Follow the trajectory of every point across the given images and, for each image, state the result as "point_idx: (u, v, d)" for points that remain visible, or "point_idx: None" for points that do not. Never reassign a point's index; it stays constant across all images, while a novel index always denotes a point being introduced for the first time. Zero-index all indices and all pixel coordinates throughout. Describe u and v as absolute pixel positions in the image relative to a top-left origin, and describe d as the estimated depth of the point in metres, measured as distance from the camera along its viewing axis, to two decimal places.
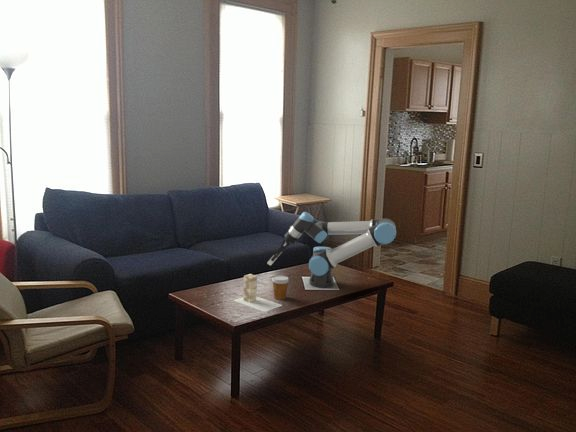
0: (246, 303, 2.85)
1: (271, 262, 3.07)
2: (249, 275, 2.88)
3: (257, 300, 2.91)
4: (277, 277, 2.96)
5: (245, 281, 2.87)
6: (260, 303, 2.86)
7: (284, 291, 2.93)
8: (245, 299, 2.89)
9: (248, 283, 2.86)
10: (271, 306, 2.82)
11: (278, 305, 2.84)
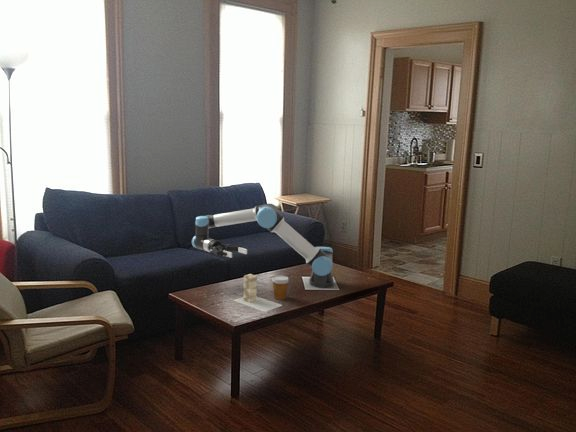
0: (246, 303, 2.85)
1: (228, 253, 2.88)
2: (249, 275, 2.88)
3: (257, 300, 2.91)
4: (277, 277, 2.96)
5: (245, 281, 2.87)
6: (260, 303, 2.86)
7: (284, 291, 2.93)
8: (245, 299, 2.89)
9: (248, 283, 2.86)
10: (271, 306, 2.82)
11: (278, 305, 2.84)
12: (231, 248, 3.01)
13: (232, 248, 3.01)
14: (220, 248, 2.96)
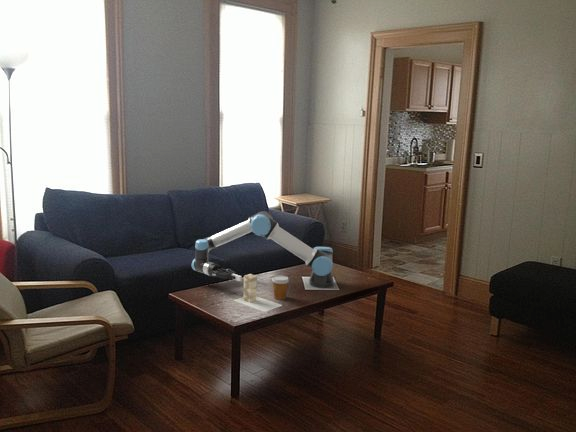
0: (246, 303, 2.85)
1: (237, 277, 2.94)
2: (249, 275, 2.88)
3: (257, 300, 2.91)
4: (277, 277, 2.96)
5: (245, 281, 2.87)
6: (260, 303, 2.86)
7: (284, 291, 2.93)
8: (245, 299, 2.89)
9: (248, 283, 2.86)
10: (271, 306, 2.82)
11: (278, 305, 2.84)
12: None
13: None
14: (224, 272, 3.00)
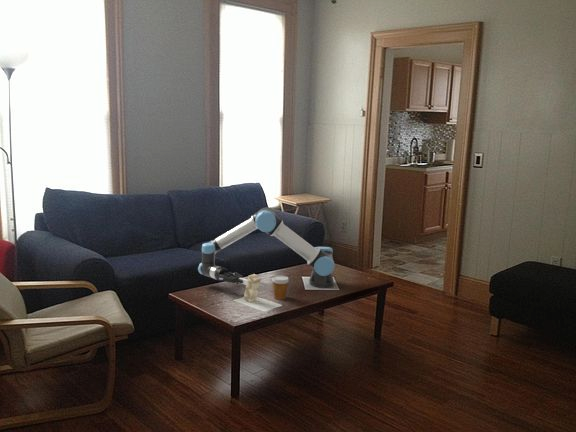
0: (246, 303, 2.85)
1: (244, 281, 2.89)
2: (253, 276, 2.86)
3: (257, 300, 2.91)
4: (277, 277, 2.96)
5: (248, 281, 2.85)
6: (260, 303, 2.86)
7: (284, 291, 2.93)
8: (245, 298, 2.89)
9: (251, 284, 2.84)
10: (271, 306, 2.82)
11: (278, 305, 2.84)
12: None
13: None
14: (231, 276, 2.96)
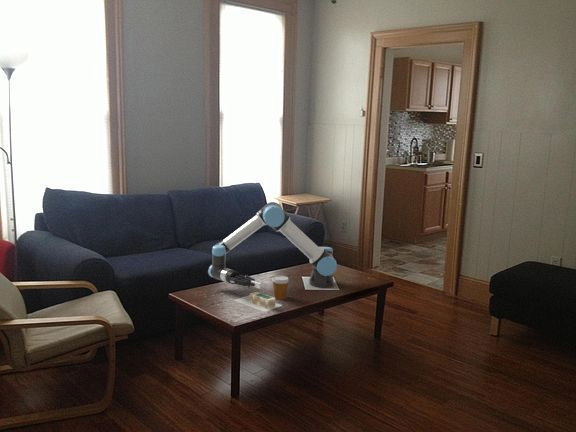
0: (246, 303, 2.85)
1: (256, 284, 2.84)
2: (272, 302, 2.79)
3: None
4: (277, 277, 2.96)
5: (264, 301, 2.79)
6: None
7: (284, 291, 2.93)
8: (251, 297, 2.86)
9: (264, 305, 2.80)
10: None
11: (278, 305, 2.84)
12: None
13: None
14: (242, 278, 2.91)
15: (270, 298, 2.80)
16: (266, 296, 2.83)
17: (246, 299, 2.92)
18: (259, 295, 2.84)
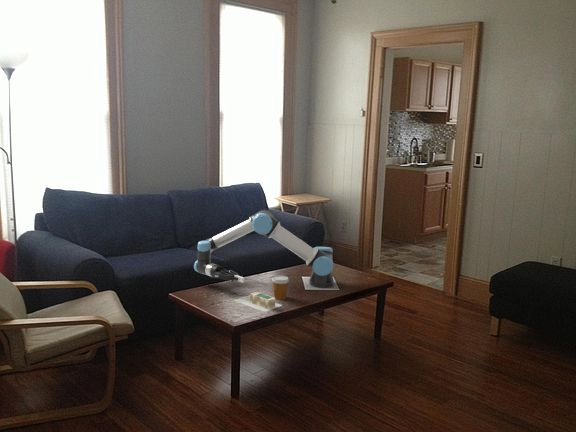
0: (246, 303, 2.85)
1: (239, 278, 2.92)
2: (272, 302, 2.79)
3: None
4: (277, 277, 2.96)
5: (264, 301, 2.79)
6: None
7: (284, 291, 2.93)
8: (251, 297, 2.86)
9: (264, 305, 2.80)
10: None
11: (278, 305, 2.84)
12: None
13: (230, 275, 2.99)
14: (226, 273, 2.99)
15: (270, 298, 2.80)
16: (266, 296, 2.83)
17: (246, 299, 2.92)
18: (259, 295, 2.84)
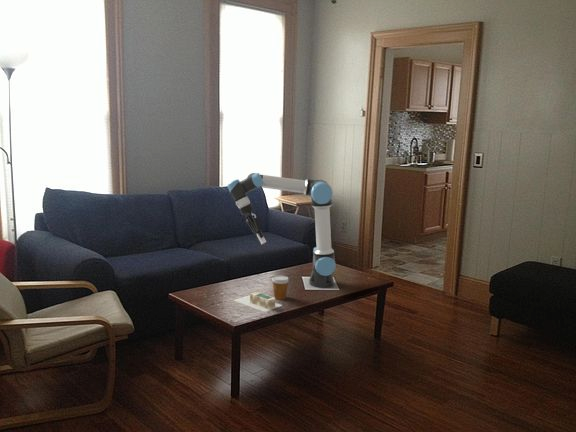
0: (246, 303, 2.85)
1: (263, 239, 2.98)
2: (272, 302, 2.79)
3: None
4: (277, 277, 2.96)
5: (264, 301, 2.79)
6: None
7: (284, 291, 2.93)
8: (251, 297, 2.86)
9: (264, 305, 2.80)
10: None
11: (278, 305, 2.84)
12: None
13: None
14: None
15: (270, 298, 2.80)
16: (266, 296, 2.83)
17: (246, 299, 2.92)
18: (259, 295, 2.84)
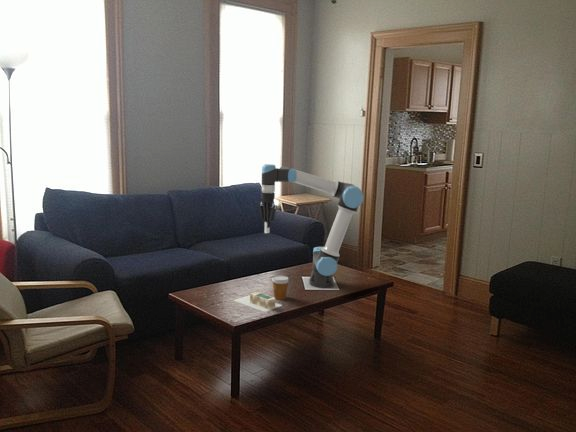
0: (246, 303, 2.85)
1: (268, 229, 3.02)
2: (272, 302, 2.79)
3: None
4: (277, 277, 2.96)
5: (264, 301, 2.79)
6: None
7: (284, 291, 2.93)
8: (251, 297, 2.86)
9: (264, 305, 2.80)
10: None
11: (278, 305, 2.84)
12: None
13: None
14: None
15: (270, 298, 2.80)
16: (266, 296, 2.83)
17: (246, 299, 2.92)
18: (259, 295, 2.84)
